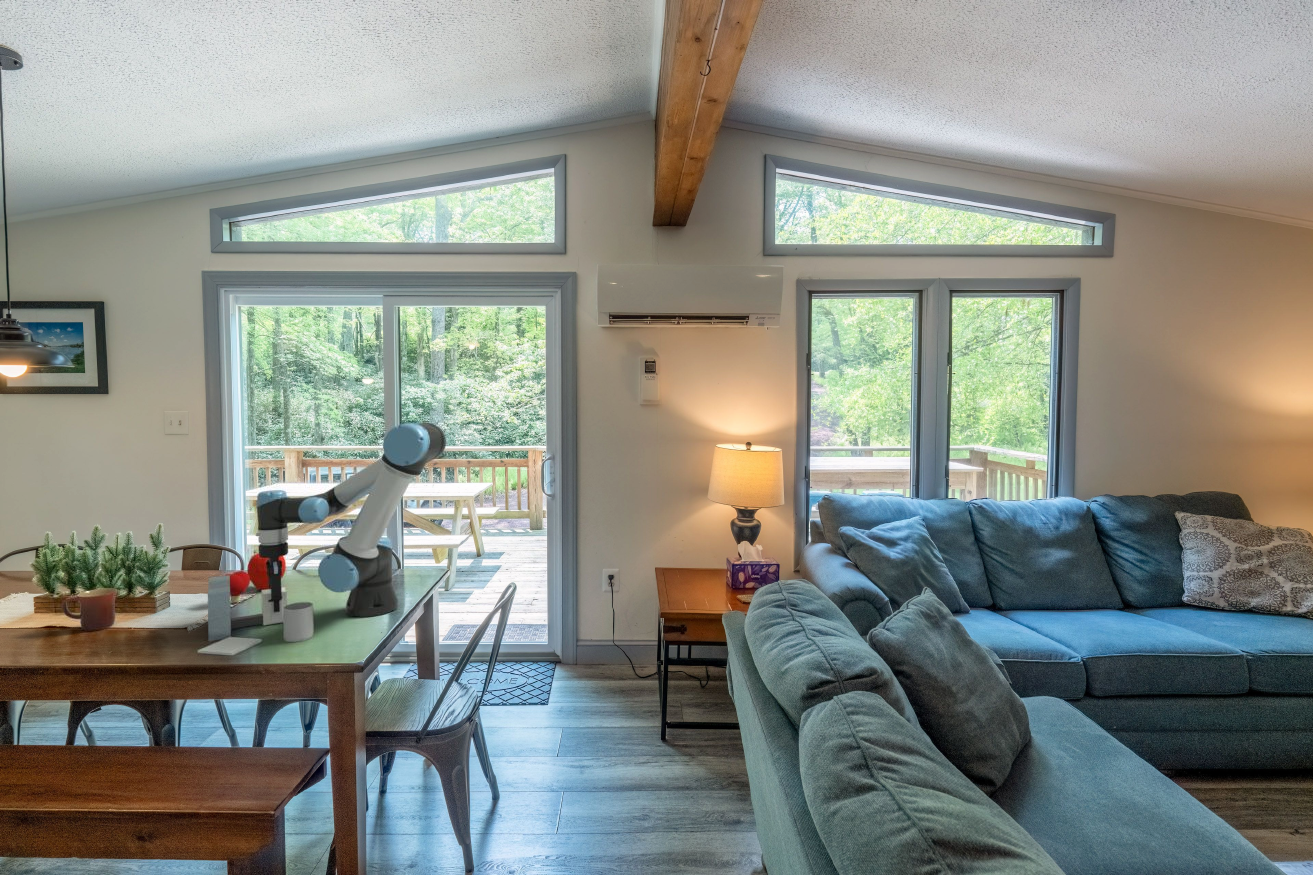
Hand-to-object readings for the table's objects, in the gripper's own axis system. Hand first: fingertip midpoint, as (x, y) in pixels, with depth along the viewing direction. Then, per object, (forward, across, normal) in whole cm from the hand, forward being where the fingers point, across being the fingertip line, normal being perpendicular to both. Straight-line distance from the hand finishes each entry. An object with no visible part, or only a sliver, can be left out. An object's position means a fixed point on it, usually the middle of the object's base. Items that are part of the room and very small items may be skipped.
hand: (275, 619), depth 187 cm
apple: (0, -40, 0) cm, 40 cm away
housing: (0, -1, -14) cm, 14 cm away
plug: (0, 0, -6) cm, 6 cm away
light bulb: (0, -27, -9) cm, 28 cm away
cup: (+1, +18, +4) cm, 19 cm away
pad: (+1, +17, -12) cm, 21 cm away
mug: (0, -21, -44) cm, 49 cm away
